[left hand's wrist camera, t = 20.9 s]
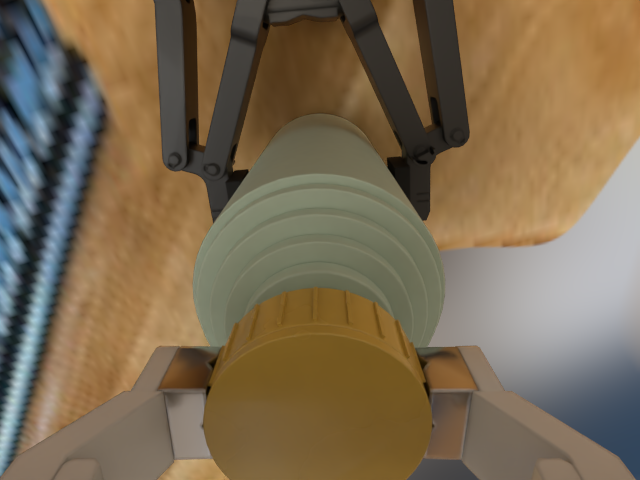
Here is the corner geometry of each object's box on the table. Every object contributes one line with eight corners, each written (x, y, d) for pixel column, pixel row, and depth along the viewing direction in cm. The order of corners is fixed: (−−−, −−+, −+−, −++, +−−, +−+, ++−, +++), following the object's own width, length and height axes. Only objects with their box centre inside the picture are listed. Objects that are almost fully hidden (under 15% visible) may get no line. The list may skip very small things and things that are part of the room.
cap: (288, 472, 11) (282, 542, 10) (179, 344, 10) (150, 399, 8) (449, 399, 11) (473, 461, 9) (354, 247, 9) (361, 287, 8)
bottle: (318, 86, 28) (309, 141, 7) (401, 171, 30) (585, 406, 9) (238, 174, 30) (53, 416, 9) (321, 248, 32) (323, 584, 11)
